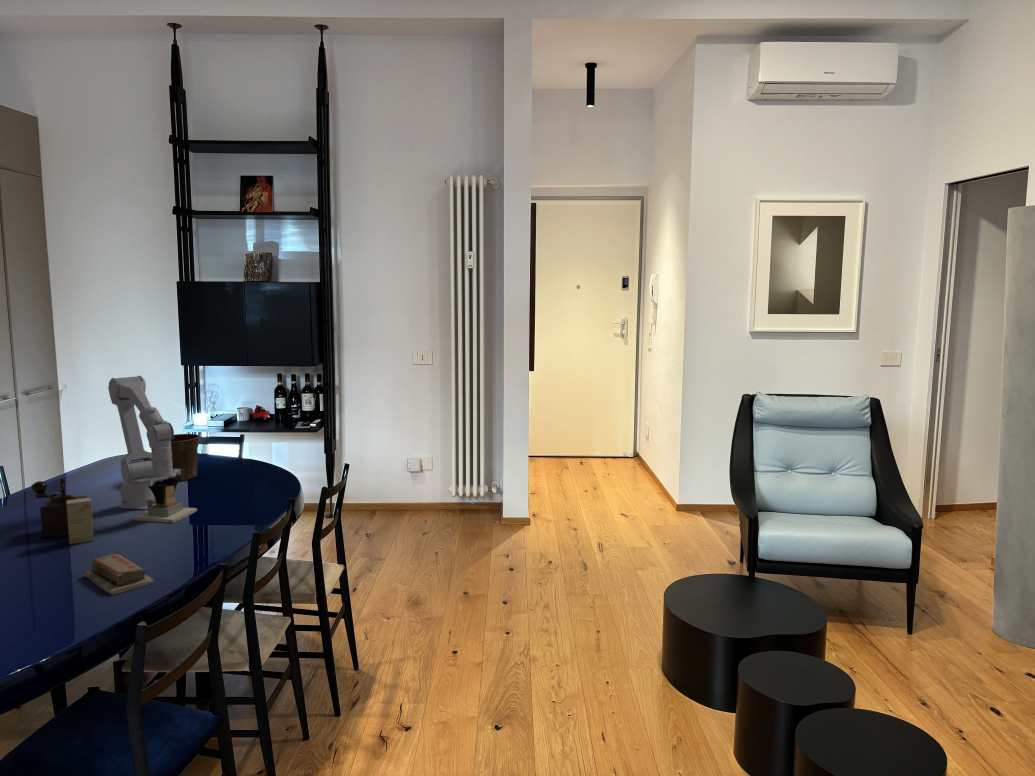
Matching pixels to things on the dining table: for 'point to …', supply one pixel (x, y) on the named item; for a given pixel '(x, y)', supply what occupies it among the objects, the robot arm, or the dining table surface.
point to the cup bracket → (164, 513)
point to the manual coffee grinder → (54, 509)
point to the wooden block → (168, 498)
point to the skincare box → (79, 520)
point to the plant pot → (185, 455)
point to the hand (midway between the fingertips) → (165, 501)
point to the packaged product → (117, 574)
